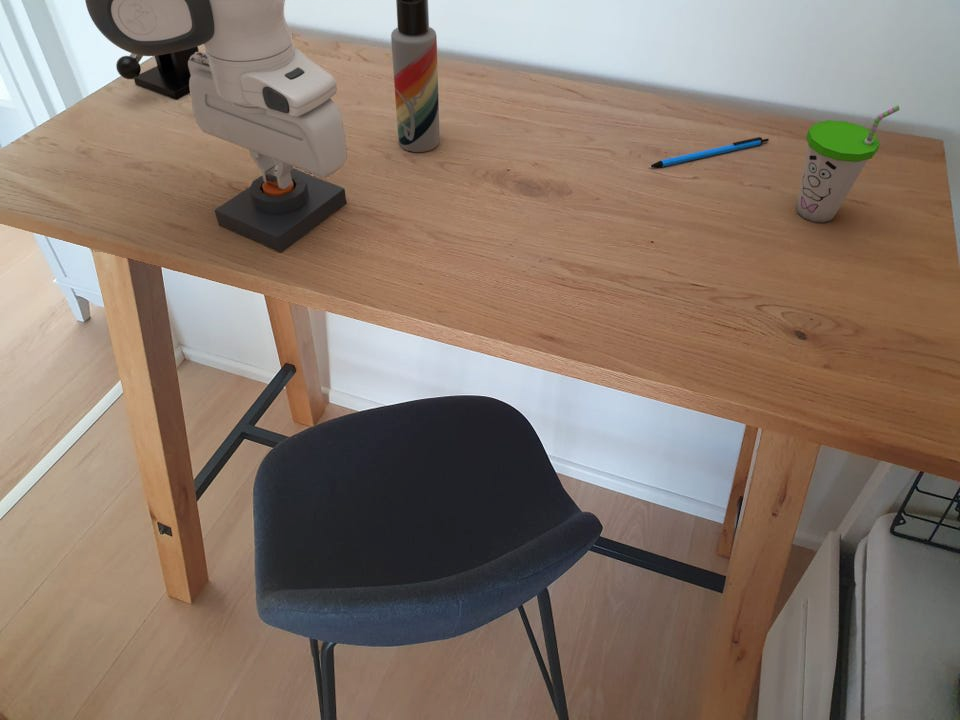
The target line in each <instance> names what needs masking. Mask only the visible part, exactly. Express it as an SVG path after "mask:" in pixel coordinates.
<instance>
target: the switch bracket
mask: <svg viewBox="0 0 960 720" xmlns="http://www.w3.org/2000/svg"><path fill="white" fill-rule="evenodd" d="M195 52H200V50H199V46H197V47H194V48H190V49H187V50H183V51H178V52H174V53H169V54H164V55H158V56H154V59H155V61H156V66H154V67H151V68H150V69H148V70H146V71H143V72H140V74H139V76H138V77H137V78H135V79H133V81H134V84H135V85H136V86H138V87H141V88H144V89H147V90H149V91H152V92H155V93H158V94H160V95H162V96H165V97H168V98H171V99H175V100H179V99H181V98H182V97H184V96H186V95H189V94H190V88H189V80H190V77H191V74H190V71H189V67H188V61H189V59H190V57H191V56H192V55H193V54H194V53H195Z"/></svg>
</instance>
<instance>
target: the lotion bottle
mask: <svg viewBox="0 0 960 720" xmlns="http://www.w3.org/2000/svg"><path fill="white" fill-rule="evenodd" d="M395 2H396V3H395V5H396V22H397V23H396V24H397V27H396V28H394V29H393V30H392V32H391V34H390V41H391V43H390V44H391V55H392V56H391V57H392V70H393V71H392V72H393V84H394V98H395V113H396V129H397V137H398V145H400V147H402V149H404V150H405V151H408V152H412V153H425V152H429V151H433V150H434V149H435V148H437V146H438V145H439V144H440V107H439V106H440V105H439V104H440V103H439V100H440V99H439V71H438V70H439V69H438V39H437V37H438V36H437V32H436V30H435V29H434V28H432V27H431V26H430V17H429V15H430V14H429V0H395Z"/></svg>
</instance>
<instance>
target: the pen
mask: <svg viewBox="0 0 960 720" xmlns="http://www.w3.org/2000/svg"><path fill="white" fill-rule="evenodd" d="M769 141H770V139H769V138H763V137H761V136H758V137H752V138H749V139H743V140H739V141H735V142H732V144H728V145H723V146H719V147H714V148H711V149H706V150H701V151H697V152H692V153H687V154H684V155H679V156H674V157H669V158H666V159H661V160H658V161H655V162H654V163H652V164H651V165H649V168H664V167H668V166H673V165H677V164H683V163H687V162H690V161H691V162H692V161H695V160H700V159H703V158H708V157H713V156H716V155H717V156H718V155H721V154H726V153H731V152H735V151H740V150H744V149H748V148H753V147H757V146H761V145H762V144H763V143H767V142H769Z"/></svg>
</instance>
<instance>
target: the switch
mask: <svg viewBox="0 0 960 720" xmlns="http://www.w3.org/2000/svg"><path fill="white" fill-rule="evenodd" d="M143 57H144V56H141V55H136V54H133V53H130V54H129V55H122V56H121V57H119V58H118V59H117V61H116V65H115V66H116V71H117V73H118V74H119V75H120V76H121V77H122V78H124V79H125V80H131V81H132V80H134V79H135V78H137V77H138V76H139V74H141V73H142V72H141V71H142V70H141V69H142V67H141V65H140V62H141V60H142V59H143Z"/></svg>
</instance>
